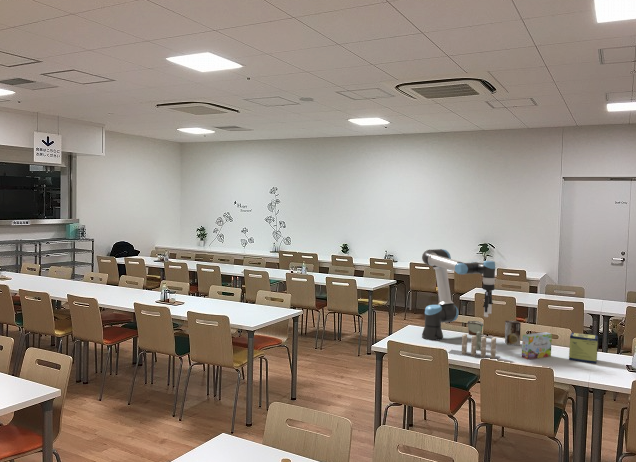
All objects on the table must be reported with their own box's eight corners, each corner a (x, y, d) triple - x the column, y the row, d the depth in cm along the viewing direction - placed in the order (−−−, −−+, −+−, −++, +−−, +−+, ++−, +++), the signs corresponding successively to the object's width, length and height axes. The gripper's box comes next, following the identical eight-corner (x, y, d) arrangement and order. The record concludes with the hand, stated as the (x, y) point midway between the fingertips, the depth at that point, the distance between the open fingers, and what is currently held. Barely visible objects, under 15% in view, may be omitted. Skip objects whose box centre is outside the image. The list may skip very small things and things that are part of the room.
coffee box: (517, 343, 371) (518, 320, 370) (520, 345, 364) (521, 322, 364) (504, 343, 372) (505, 320, 371) (506, 345, 365) (507, 322, 365)
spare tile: (476, 350, 348) (476, 332, 348) (477, 349, 353) (478, 331, 352) (479, 351, 347) (479, 333, 347) (480, 349, 352) (481, 331, 351)
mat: (447, 353, 339) (447, 353, 339) (451, 350, 348) (451, 349, 348) (497, 361, 323) (497, 360, 323) (500, 357, 333) (500, 356, 333)
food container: (486, 335, 393) (486, 322, 392) (482, 337, 388) (482, 323, 388) (470, 333, 401) (471, 320, 401) (466, 334, 397) (467, 321, 396)
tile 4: (461, 354, 337) (462, 335, 337) (463, 352, 341) (464, 334, 341) (464, 354, 336) (465, 335, 336) (466, 352, 340) (467, 334, 340)
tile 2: (480, 356, 331) (481, 338, 331) (482, 355, 335) (483, 336, 335) (484, 357, 330) (484, 338, 330) (485, 355, 334) (486, 336, 334)
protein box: (596, 363, 323) (597, 338, 322) (568, 360, 330) (569, 335, 330) (597, 359, 332) (598, 335, 331) (569, 356, 339) (570, 332, 339)
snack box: (528, 360, 328) (529, 336, 327) (521, 358, 333) (521, 334, 332) (551, 356, 338) (552, 333, 337) (544, 354, 342) (545, 331, 342)
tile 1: (490, 358, 328) (491, 339, 328) (492, 356, 332) (492, 337, 332) (493, 358, 327) (494, 339, 327) (495, 357, 332) (496, 338, 331)
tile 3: (471, 355, 334) (471, 336, 334) (472, 353, 338) (473, 335, 338) (474, 356, 333) (474, 337, 333) (476, 354, 337) (476, 335, 337)
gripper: (491, 286, 341) (490, 319, 342) (497, 282, 364) (496, 312, 364) (479, 285, 345) (478, 317, 345) (486, 281, 367) (485, 311, 368)
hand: (487, 315), depth 355 cm, fingers open, 13 cm apart
